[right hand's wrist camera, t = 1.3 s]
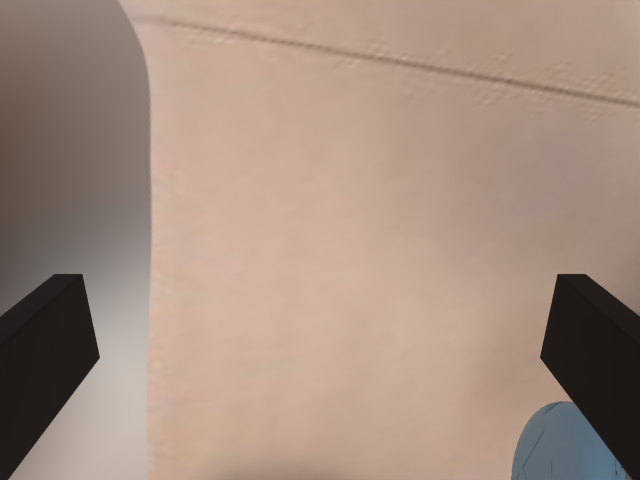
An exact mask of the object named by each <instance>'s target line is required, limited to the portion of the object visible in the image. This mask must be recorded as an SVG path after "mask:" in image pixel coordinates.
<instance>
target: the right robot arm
mask: <svg viewBox="0 0 640 480" xmlns="http://www.w3.org/2000/svg"><path fill="white" fill-rule="evenodd" d="M99 358H100V356H99V351H98V346H97V342H96V337H95V332H94V327H93V323H92V318H91V313H90V308H89V304H88V299H87V294H86V290H85V285H84V280H83V275H82V274H54V275H53V276H51V277H50V278H49V279H48V280H46V281H45V282H44V283H43V284H41V285H40V286H39V287H37V288H36V289H35V290H34V291H32V292H31V293H30V294H29V295H27V296H26V297H25V298H23V299H22V300H21V301H20V302H18V303H17V304H16V305H14V306H13V307H12V308H11V309H9V310H8V311H7V312H6V313H4V314H3V315H2V316H0V480H8V479H9V478H10V476H11V475H12V474H13V472H14V471H15V470H16V468H17V467H18V466H19V464H20V463H21V462H22V460H23V459H24V458H25V456H26V455H27V454H28V453H29V451H30V450H31V448H32V447H33V446H34V445H35V443H36V442H37V441H38V439H39V438H40V437H41V435H42V434H43V433H44V431H45V430H46V429H47V427H48V426H49V425H50V423H51V422H52V421H53V419H54V418H55V417H56V415H57V414H58V413H59V411H60V410H61V409H62V407H63V406H64V405H65V403H66V402H67V401H68V399H69V398H70V397H71V395H72V394H73V393H74V391H75V390H76V389H77V387H78V386H79V385H80V384H81V382H82V381H83V380H84V378H85V377H86V376H87V374H88V373H89V372H90V370H91V369H92V368H93V366H94V365H95V364H96V362H97V361H98V360H99ZM540 358H541V360H542V361H543V362H544V364H545V365H546V366H547V368H548V369H549V370H550V372H551V373H552V374H553V376H554V377H555V378H556V380H557V381H558V382H559V384H560V385H561V386H562V388H563V389H564V390H565V392H566V393H567V394H568V395H569V397H570V398H571V399H572V401H573V402H574V403H575V405H576V406H577V407H578V409H579V410H580V411H581V413H582V414H583V415H584V417H585V418H586V419H587V421H588V422H589V423H590V425H591V426H592V427H593V429H594V430H595V431H596V433H597V434H598V435H599V437H600V438H601V439H602V441H603V442H604V443H605V445H606V446H607V447H608V449H609V450H610V451H611V453H612V454H613V455H614V457H615V458H616V459H617V460H618V462H619V463H620V464H621V466H622V467H623V468H624V470H625V471H626V472H627V474H628V475H629V476H630V478H631V479H632V480H640V316H638V315H637V314H636V313H634V312H633V311H632V310H631V309H629V308H628V307H627V306H626V305H624V304H623V303H622V302H620V301H619V300H618V299H617V298H615V297H614V296H613V295H611V294H610V293H609V292H608V291H606V290H605V289H604V288H603V287H601V286H600V285H599V284H597V283H596V282H595V281H594V280H592V279H591V278H590V277H589V276H587V275H586V274H558V275H557V280H556V285H555V289H554V294H553V299H552V304H551V308H550V313H549V318H548V323H547V327H546V332H545V337H544V341H543V346H542V351H541V356H540Z"/></svg>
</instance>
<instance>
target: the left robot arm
mask: <svg viewBox="0 0 640 480" xmlns="http://www.w3.org/2000/svg"><path fill="white" fill-rule="evenodd" d="M511 480H632V479H631V478H630V476H629V475H628V474H627V472H626V471H625V470H624V468H623V467H622V466H621V464H620V463H619V462H618V460H617V459H616V458H615V457H614V455H613V454H612V453H611V451H610V450H609V449H608V447H607V446H606V445H605V443H604V442H603V441H602V439H601V438H600V437H599V435H598V434H597V433H596V431H595V430H594V429H593V427H592V426H591V425H590V423H589V422H588V421H587V419H586V418H585V417H584V415H583V414H582V413H581V411H580V410H579V409H578V407H577V406H576V405H575V403H574V402H565V401H562V402H554V403H551V404H548V405H546V406H544V407H542V408H541V409H539V410H538V411H537V412H536V413H535V414H534V415H533V416H532V417H531V418H530V420H529V421H528V422H527V424H526V426H525V428H524V429H523V431H522V433H521V436H520V438H519V441H518V444H517V447H516V451H515V455H514V460H513V466H512V476H511Z"/></svg>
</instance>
